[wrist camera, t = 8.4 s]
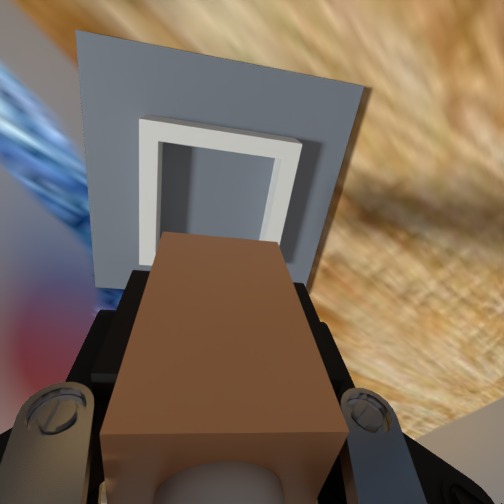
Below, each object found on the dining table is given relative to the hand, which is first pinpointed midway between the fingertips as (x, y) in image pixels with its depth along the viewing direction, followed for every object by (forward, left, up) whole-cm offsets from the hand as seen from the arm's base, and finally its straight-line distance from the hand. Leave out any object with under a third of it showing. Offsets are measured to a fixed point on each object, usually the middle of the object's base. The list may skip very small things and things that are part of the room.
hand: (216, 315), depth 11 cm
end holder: (0, 0, -13) cm, 13 cm away
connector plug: (0, 0, -2) cm, 2 cm away
